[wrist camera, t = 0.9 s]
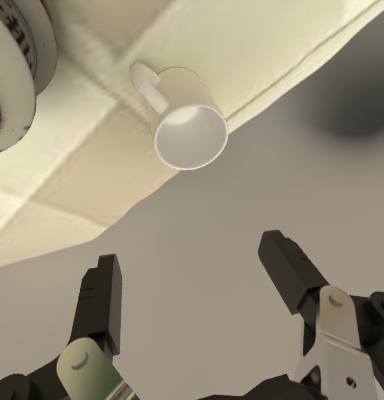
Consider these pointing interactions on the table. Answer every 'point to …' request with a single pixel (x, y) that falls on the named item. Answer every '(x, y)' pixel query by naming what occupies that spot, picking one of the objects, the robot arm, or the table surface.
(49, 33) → the apothecary jar
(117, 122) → the table surface
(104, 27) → the table surface
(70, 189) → the table surface
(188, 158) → the mug
